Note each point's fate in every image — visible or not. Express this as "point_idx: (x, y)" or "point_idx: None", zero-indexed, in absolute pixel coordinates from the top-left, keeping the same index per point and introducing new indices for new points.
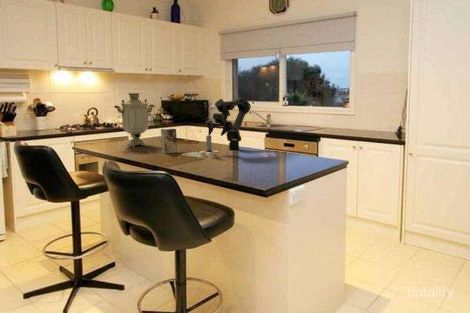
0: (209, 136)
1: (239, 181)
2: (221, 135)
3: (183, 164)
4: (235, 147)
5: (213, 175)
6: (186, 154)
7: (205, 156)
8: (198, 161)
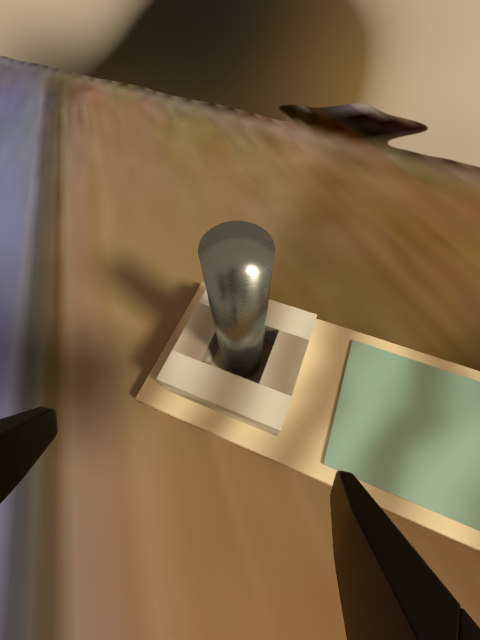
0: (214, 230)
1: (43, 79)
2: (44, 419)
3: (300, 186)
4: None
5: (123, 101)
6: (450, 373)
7: None
8: None
